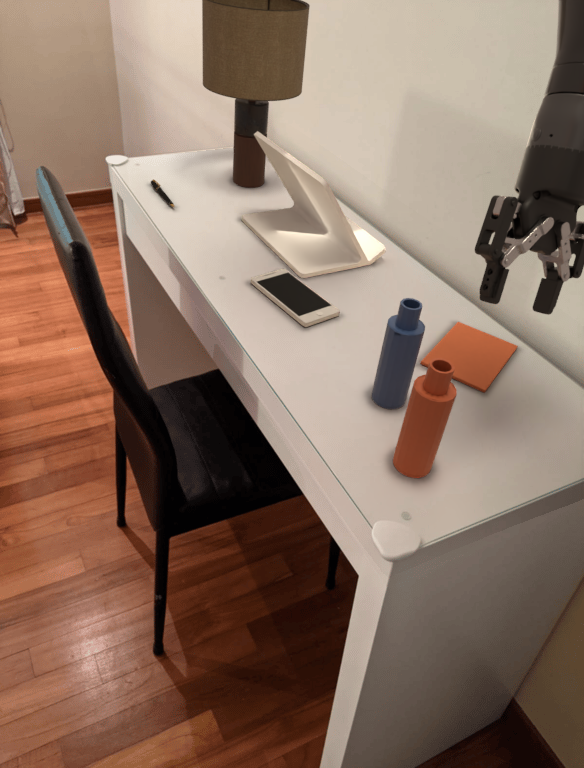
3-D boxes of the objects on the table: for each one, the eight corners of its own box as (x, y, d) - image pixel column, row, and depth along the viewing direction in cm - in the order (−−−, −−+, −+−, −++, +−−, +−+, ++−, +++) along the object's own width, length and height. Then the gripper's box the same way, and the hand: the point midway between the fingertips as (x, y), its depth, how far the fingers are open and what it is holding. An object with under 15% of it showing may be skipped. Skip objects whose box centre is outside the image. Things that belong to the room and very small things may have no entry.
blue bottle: (410, 396, 83) (436, 303, 74) (395, 414, 80) (420, 318, 71) (381, 382, 85) (403, 289, 76) (365, 399, 82) (385, 304, 73)
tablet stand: (301, 278, 105) (312, 182, 95) (239, 219, 122) (242, 131, 111) (386, 261, 113) (404, 170, 102) (317, 207, 129) (326, 124, 119)
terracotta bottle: (437, 461, 74) (470, 364, 65) (420, 484, 71) (453, 385, 62) (403, 444, 76) (431, 347, 66) (386, 465, 73) (412, 366, 63)
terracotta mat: (516, 348, 95) (517, 345, 94) (484, 393, 85) (485, 390, 85) (457, 324, 99) (458, 321, 98) (420, 363, 89) (420, 361, 89)
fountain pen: (177, 210, 122) (177, 203, 121) (171, 211, 122) (171, 203, 121) (154, 183, 132) (153, 176, 131) (148, 184, 131) (148, 177, 130)
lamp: (195, 166, 141) (193, -12, 119) (278, 164, 147) (291, -7, 125) (213, 202, 127) (214, 7, 105) (304, 198, 133) (324, 12, 110)
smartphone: (304, 327, 94) (305, 322, 93) (249, 282, 103) (249, 277, 102) (340, 315, 97) (341, 310, 97) (283, 272, 106) (284, 267, 106)
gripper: (550, 131, 55) (496, 307, 59) (639, 169, 62) (586, 323, 66) (488, 132, 61) (443, 292, 65) (576, 167, 68) (531, 308, 72)
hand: (515, 307), depth 66 cm, fingers open, 8 cm apart
